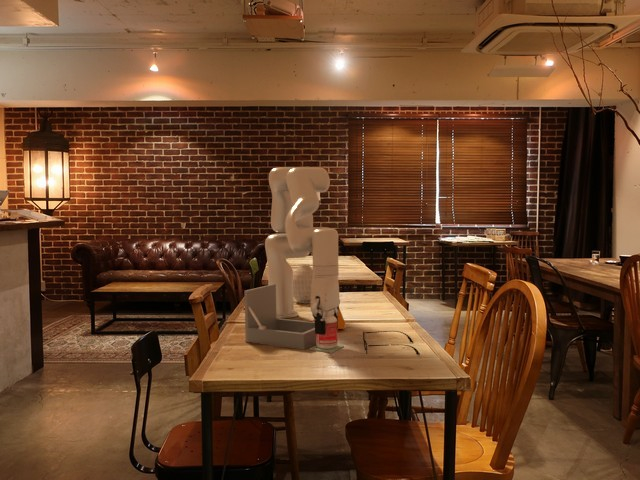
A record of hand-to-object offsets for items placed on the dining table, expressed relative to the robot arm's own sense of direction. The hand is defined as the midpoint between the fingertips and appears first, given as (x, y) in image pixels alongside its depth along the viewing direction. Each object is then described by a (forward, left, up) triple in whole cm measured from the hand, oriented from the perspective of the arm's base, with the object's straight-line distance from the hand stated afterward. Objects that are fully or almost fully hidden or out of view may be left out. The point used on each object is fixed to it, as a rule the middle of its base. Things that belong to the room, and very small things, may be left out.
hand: (326, 330), depth 157 cm
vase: (-45, +65, -5) cm, 79 cm away
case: (-15, +4, -5) cm, 17 cm away
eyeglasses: (+17, +8, -6) cm, 19 cm away
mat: (0, 0, -5) cm, 5 cm away
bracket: (-11, +23, -5) cm, 26 cm away
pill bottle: (0, 0, -5) cm, 5 cm away
